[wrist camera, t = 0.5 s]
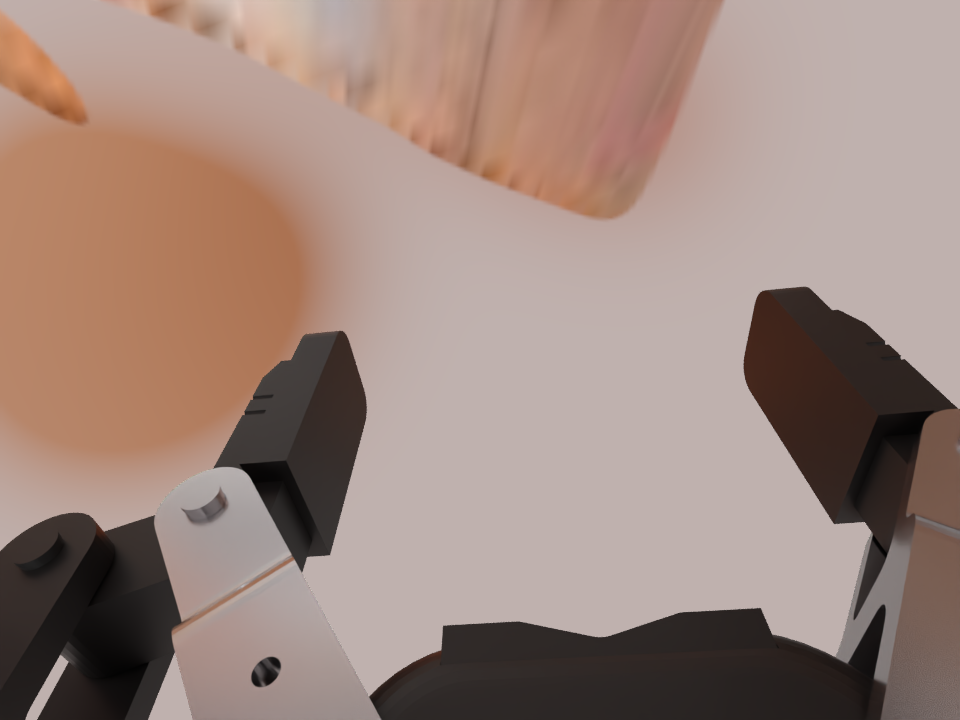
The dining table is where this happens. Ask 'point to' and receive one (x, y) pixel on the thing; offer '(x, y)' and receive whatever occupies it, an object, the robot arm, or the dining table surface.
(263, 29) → the dining table surface
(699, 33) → the dining table surface
